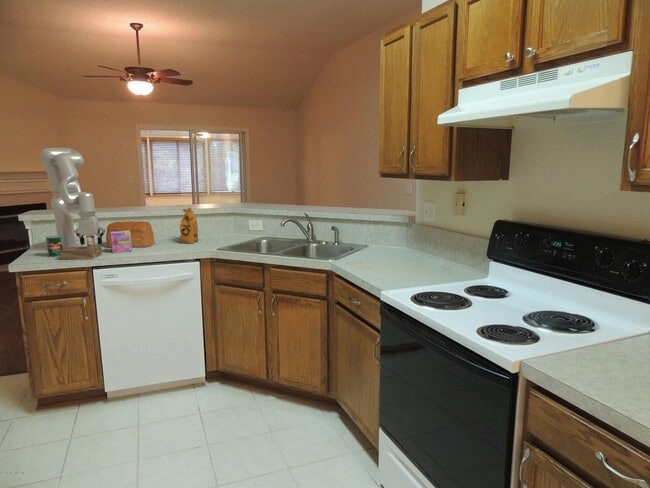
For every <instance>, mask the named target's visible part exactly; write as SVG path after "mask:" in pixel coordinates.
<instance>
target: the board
mask: <svg viewBox="0 0 650 488" xmlns="http://www.w3.org/2000/svg"><path fill="white" fill-rule="evenodd" d="M60 253H61V256H60V261H61V260H62V261H72V260H73V261H74V260H76V261H77V260H79V261H80V260H81V261H82V260H83V261H84V260H93V259H96V258H98V257H99V256H102V255H103V254H102V246H100V245H95V246H87V245H86V246H85V245H79V246H74V247H69V248H67V249H64V250H61V251H60Z"/></svg>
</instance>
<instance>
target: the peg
mask: <svg viewBox="0 0 650 488" xmlns="http://www.w3.org/2000/svg"><path fill="white" fill-rule="evenodd" d="M85 236H86V246H96V241H95V235H85Z"/></svg>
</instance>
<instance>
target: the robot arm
mask: <svg viewBox="0 0 650 488" xmlns="http://www.w3.org/2000/svg"><path fill="white" fill-rule="evenodd" d="M39 155H40V162H41V164H42V167H43V168H44V169H45V171H46V175H47V179H48V183H49V184H48V185H49V188H50V191H51V193H52V194H56V196H54V197H53V198H52V199H51V201H50V204H51V209H52V211H53V216H54V224H55V232H56V235H60V236H62V240H63V248H64V249H67V248H69V247H74V246H85V244H86V242H85V237H84V236H89V235H94V236H95V235H96V236H97V246H100V245H102V244H103V238H102V237H103V236H104V235H105V233H106V229H105V228H103V227H101V226H100V223H99V219H98V216H96V207H95V201H94V200H95V199H94V194H93V193H91V192H85V191H82V189H81V185H80V182H79V180H78V179H79V177H80V175H79V172H78V169H77V168H81V167H83V166H84V163H85V161H84V157H83V155H82V154H81V153H80V152H79V151H77V150H75V149H73V148H70V147H46V148H43V149H42V150H41V151H40V154H39ZM57 195H58V196H57ZM72 211H73V212H74V211H79V212H78V213H77V215H78V216H80V217H79V218H78V228H76V229H75V224H74V219H73V216H72V215H71V214H70V213H69V212H72ZM100 232H101V233H100ZM76 236H77V237H78V238H76ZM78 241H79V243H77V242H78Z"/></svg>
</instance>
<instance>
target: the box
mask: <svg viewBox="0 0 650 488" xmlns="http://www.w3.org/2000/svg"><path fill="white" fill-rule="evenodd" d="M110 234H111V243H112V247H111V251H112V254H119V253H126V252H127V253H128V252H133V247H132V245H131V235H130V231H129V230H128V231H117V232H110Z"/></svg>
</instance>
